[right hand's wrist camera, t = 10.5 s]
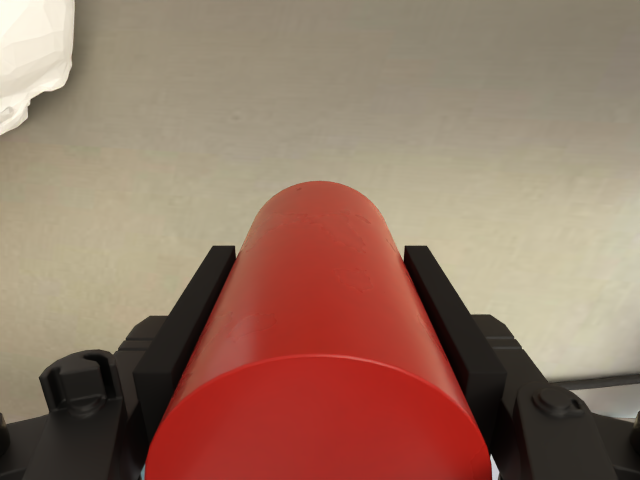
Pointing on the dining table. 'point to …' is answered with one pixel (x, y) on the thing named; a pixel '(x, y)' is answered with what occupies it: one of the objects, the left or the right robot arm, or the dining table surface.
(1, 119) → the skull
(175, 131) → the dining table surface
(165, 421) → the tin
